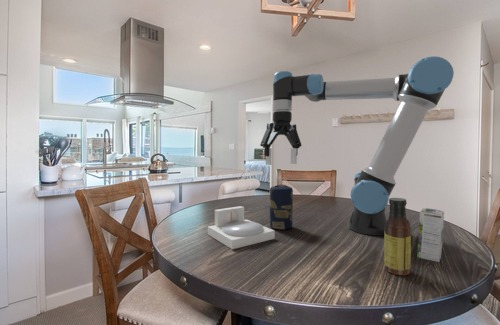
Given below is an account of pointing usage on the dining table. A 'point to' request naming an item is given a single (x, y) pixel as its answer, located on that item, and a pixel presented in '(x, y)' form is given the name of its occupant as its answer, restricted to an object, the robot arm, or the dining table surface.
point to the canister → (281, 207)
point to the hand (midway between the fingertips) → (281, 164)
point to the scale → (237, 229)
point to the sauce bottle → (397, 239)
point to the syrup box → (430, 234)
